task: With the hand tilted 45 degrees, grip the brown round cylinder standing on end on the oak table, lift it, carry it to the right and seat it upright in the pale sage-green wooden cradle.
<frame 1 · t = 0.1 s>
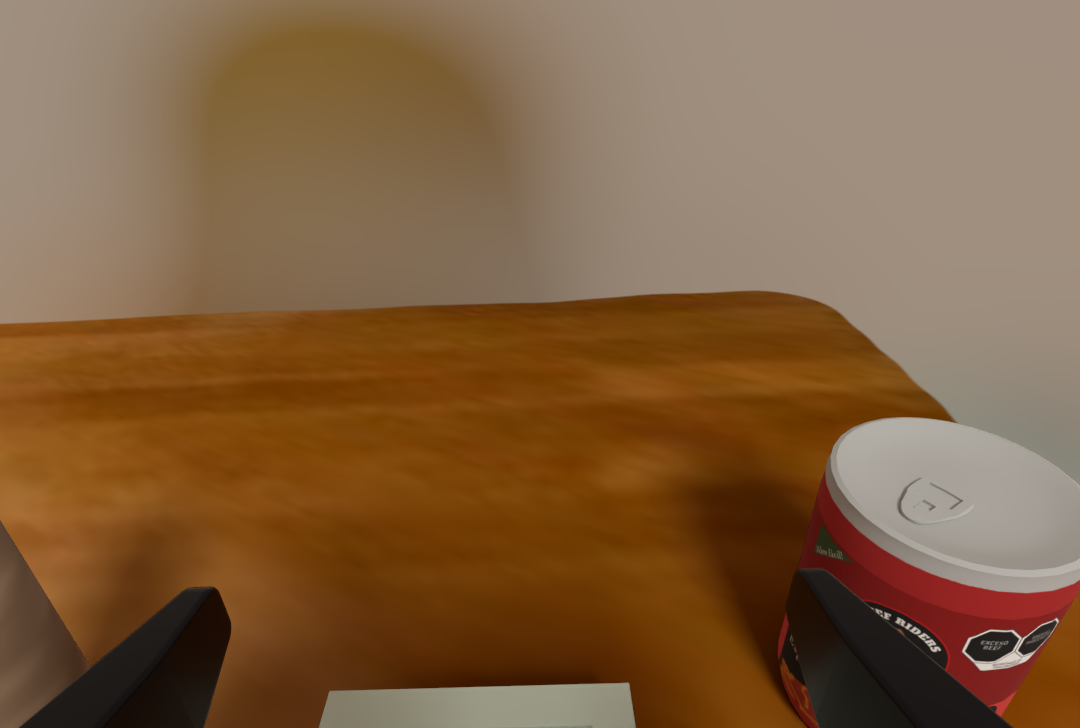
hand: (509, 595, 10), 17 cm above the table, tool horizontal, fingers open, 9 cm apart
canned food: (871, 688, 26), on the table
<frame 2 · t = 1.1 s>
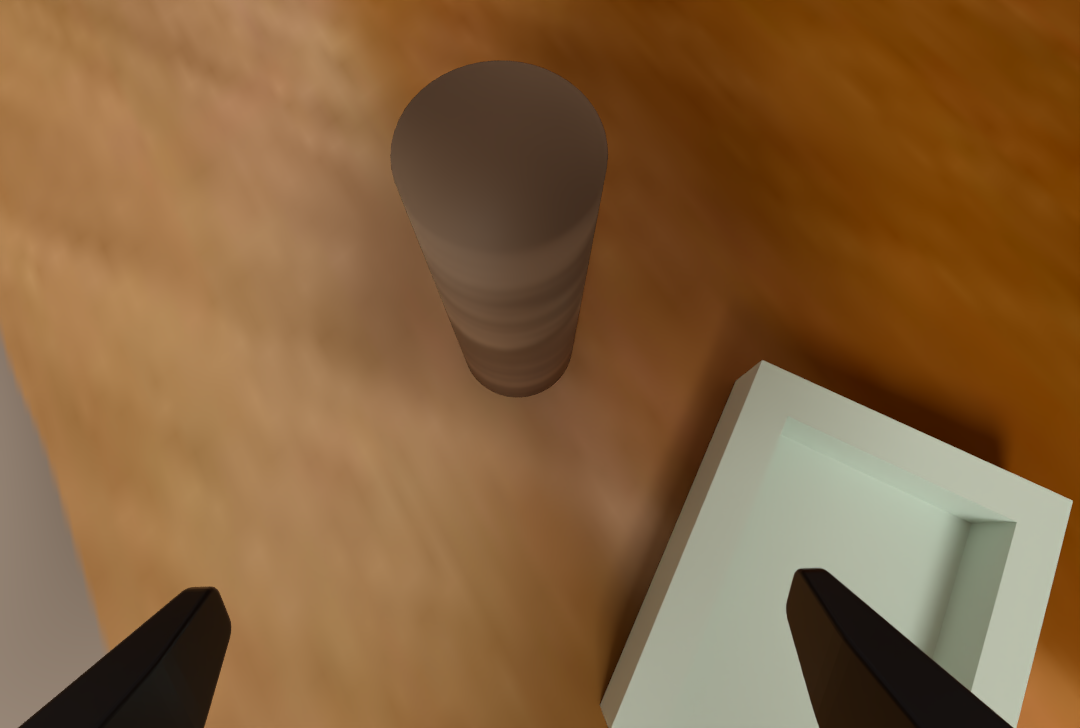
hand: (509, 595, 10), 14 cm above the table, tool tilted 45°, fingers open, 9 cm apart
brown round cylinder: (517, 344, 25), on the table
cradle: (811, 601, 22), on the table
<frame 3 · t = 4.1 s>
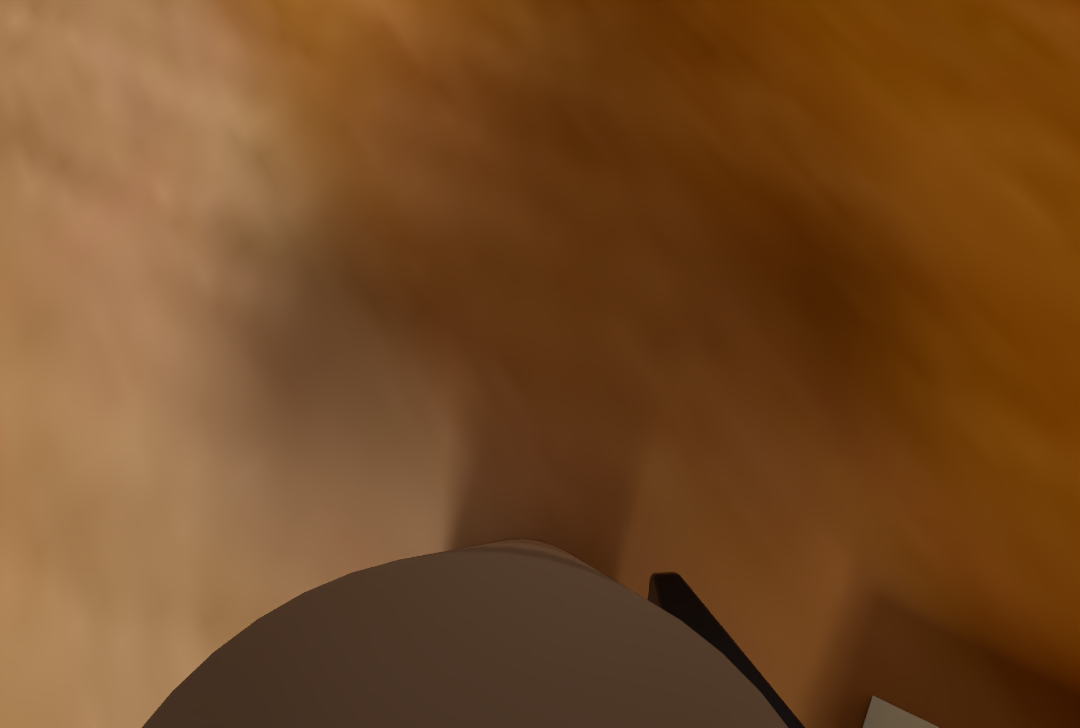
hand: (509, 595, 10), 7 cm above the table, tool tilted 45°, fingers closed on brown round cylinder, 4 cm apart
brown round cylinder: (521, 628, 16), on the table, touching gripper
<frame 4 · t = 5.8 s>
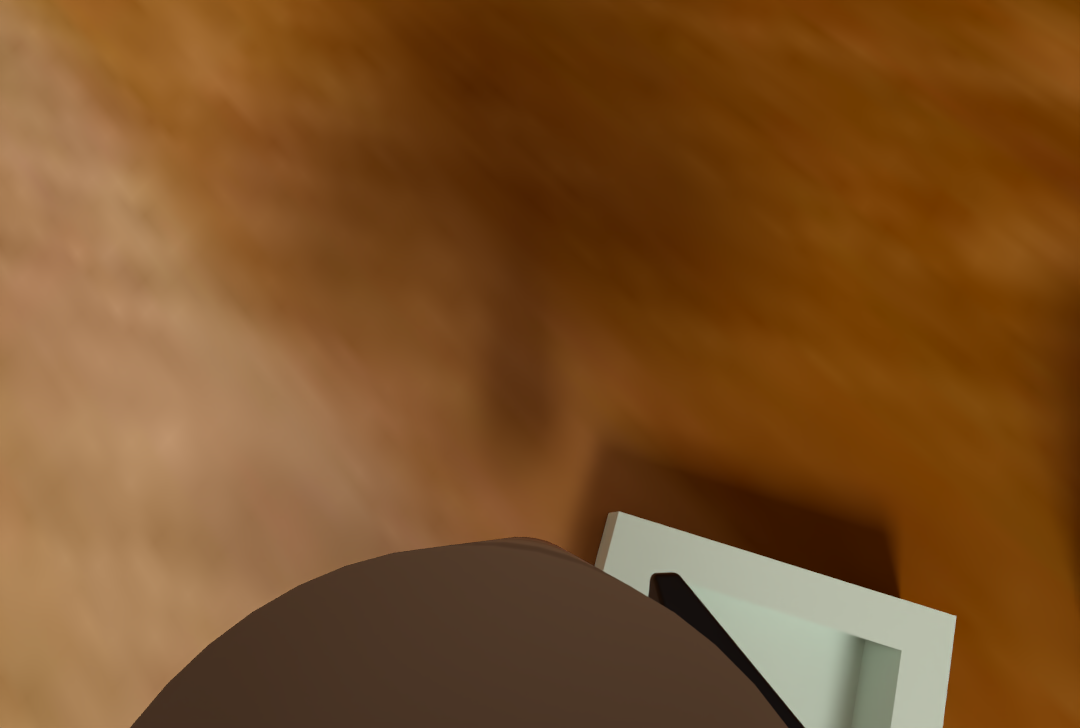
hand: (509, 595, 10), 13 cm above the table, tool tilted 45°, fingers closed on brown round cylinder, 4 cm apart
brown round cylinder: (519, 626, 16), point 7 cm above the table, touching gripper
when the fingers open (8 cm above the table, at t = 7.9 s): brown round cylinder stays where it is, resting on cradle.
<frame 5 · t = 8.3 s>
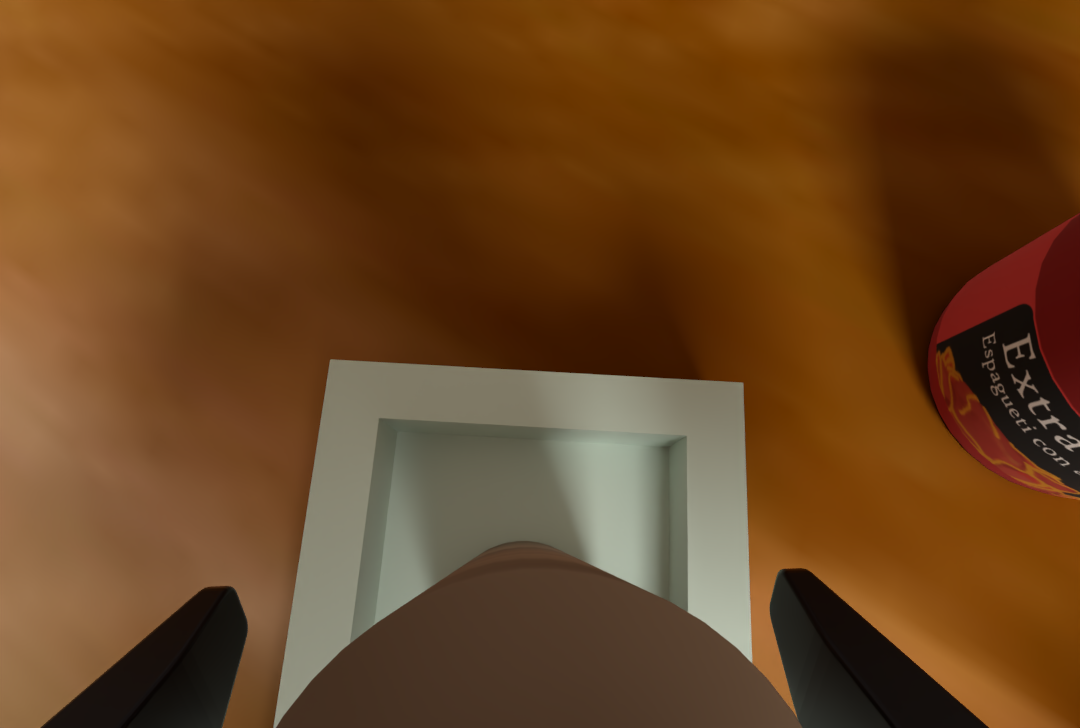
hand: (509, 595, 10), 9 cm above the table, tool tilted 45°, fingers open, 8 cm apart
brown round cylinder: (522, 625, 17), point 1 cm above the table, touching cradle
cradle: (522, 618, 17), on the table
canned food: (1037, 379, 20), on the table
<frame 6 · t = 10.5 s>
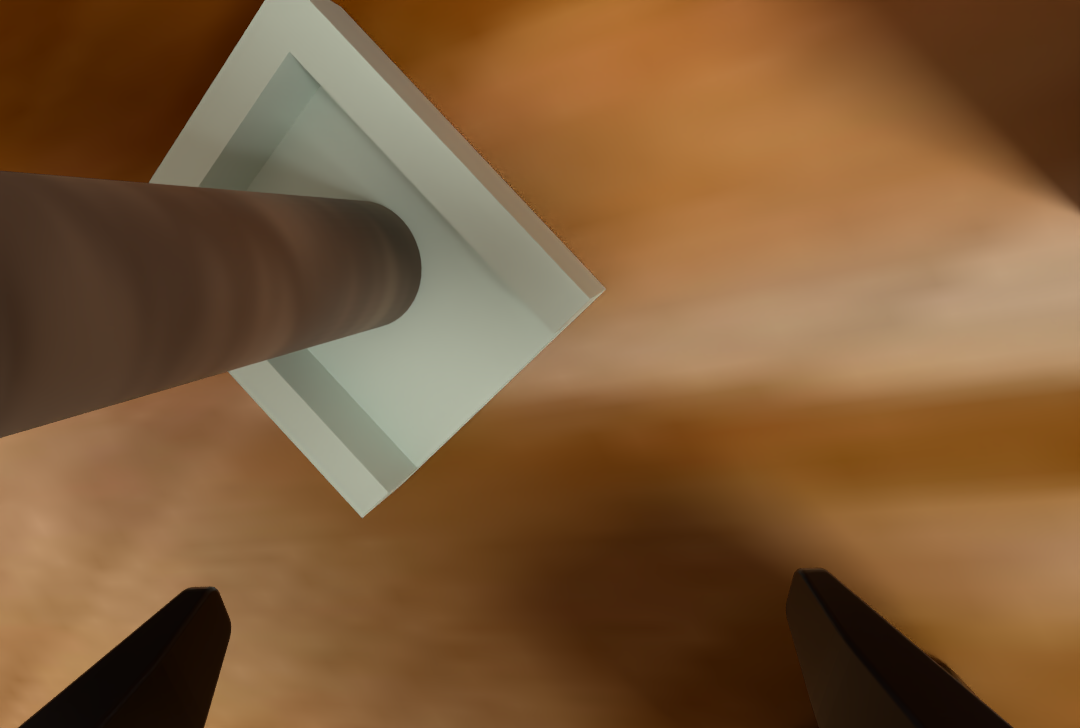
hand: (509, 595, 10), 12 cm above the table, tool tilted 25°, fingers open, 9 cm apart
brown round cylinder: (364, 265, 21), point 1 cm above the table, touching cradle
cradle: (374, 263, 22), on the table
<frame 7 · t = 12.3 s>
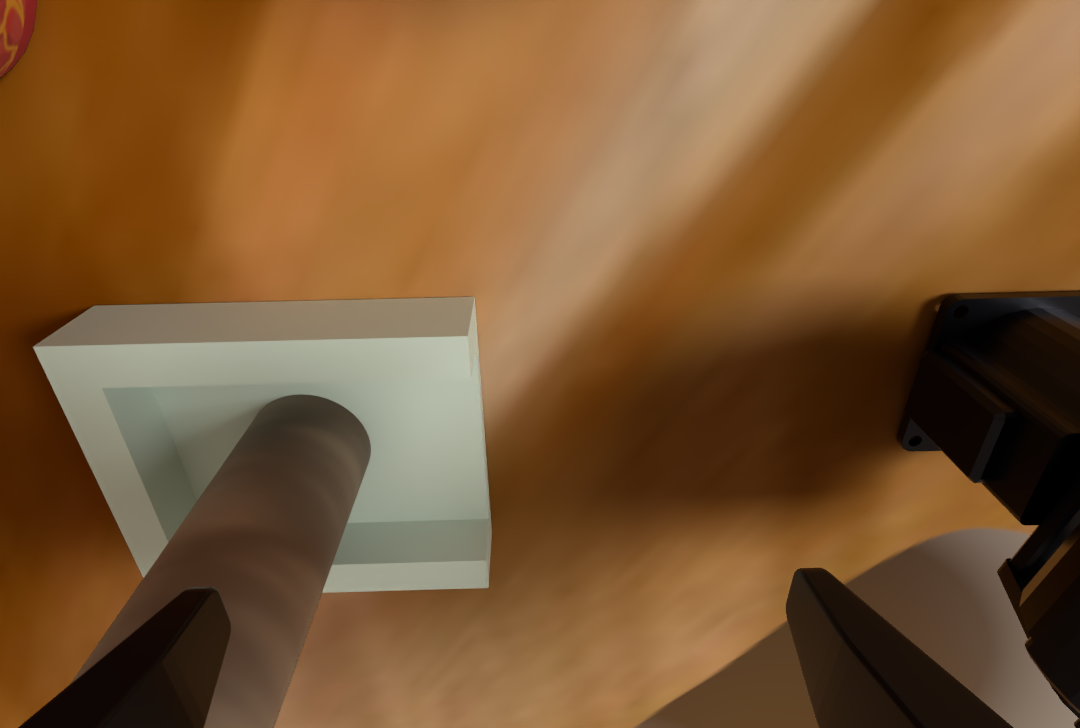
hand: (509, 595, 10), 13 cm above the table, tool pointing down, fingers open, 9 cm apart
brown round cylinder: (311, 444, 23), point 1 cm above the table, touching cradle
cradle: (316, 431, 24), on the table
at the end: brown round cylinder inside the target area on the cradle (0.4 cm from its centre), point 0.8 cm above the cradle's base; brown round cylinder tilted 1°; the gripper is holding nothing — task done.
